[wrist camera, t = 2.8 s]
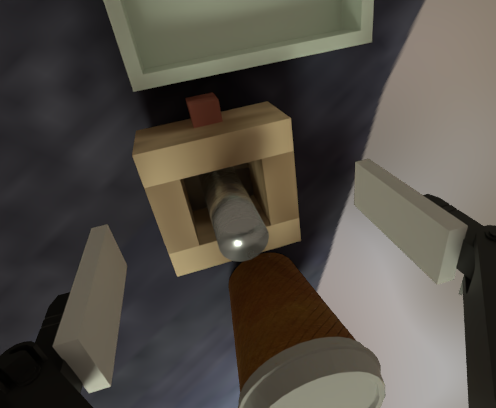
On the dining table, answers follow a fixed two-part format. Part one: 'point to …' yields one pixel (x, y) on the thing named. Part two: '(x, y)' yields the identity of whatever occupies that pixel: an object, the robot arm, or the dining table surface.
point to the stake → (230, 210)
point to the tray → (229, 34)
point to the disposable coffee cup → (295, 343)
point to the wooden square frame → (214, 158)
